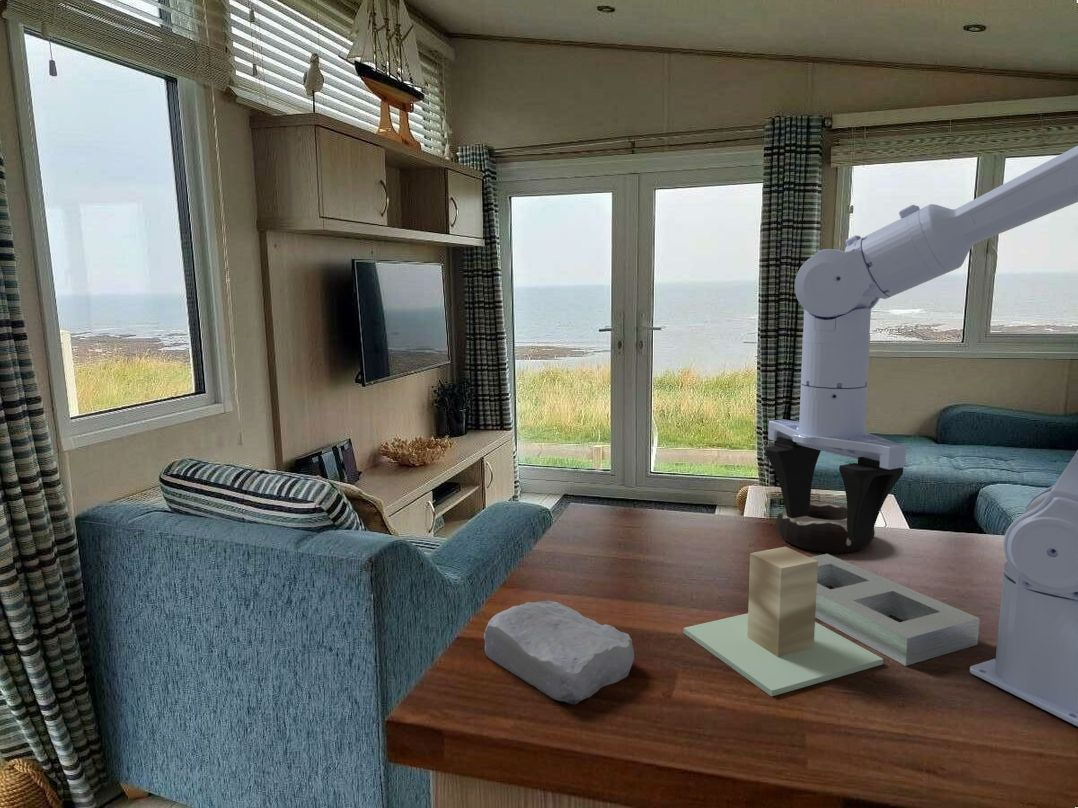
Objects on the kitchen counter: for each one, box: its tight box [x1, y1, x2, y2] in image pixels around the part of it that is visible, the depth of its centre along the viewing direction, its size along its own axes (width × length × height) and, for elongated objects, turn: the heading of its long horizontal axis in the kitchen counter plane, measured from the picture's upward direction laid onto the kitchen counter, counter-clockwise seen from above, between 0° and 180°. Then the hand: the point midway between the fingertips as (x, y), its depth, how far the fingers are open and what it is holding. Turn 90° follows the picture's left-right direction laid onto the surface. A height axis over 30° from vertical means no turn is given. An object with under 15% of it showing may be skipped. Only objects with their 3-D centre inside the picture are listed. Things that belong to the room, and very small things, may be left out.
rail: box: [809, 553, 981, 667], centre depth 72 cm, size 18×9×2 cm, turn 24°
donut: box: [775, 501, 876, 554], centre depth 93 cm, size 12×12×4 cm
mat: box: [683, 612, 884, 697], centre depth 66 cm, size 12×12×1 cm
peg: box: [747, 546, 818, 657], centre depth 65 cm, size 4×4×8 cm
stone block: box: [483, 600, 635, 705], centre depth 64 cm, size 12×5×10 cm
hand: (826, 527), depth 69 cm, fingers open, 7 cm apart
